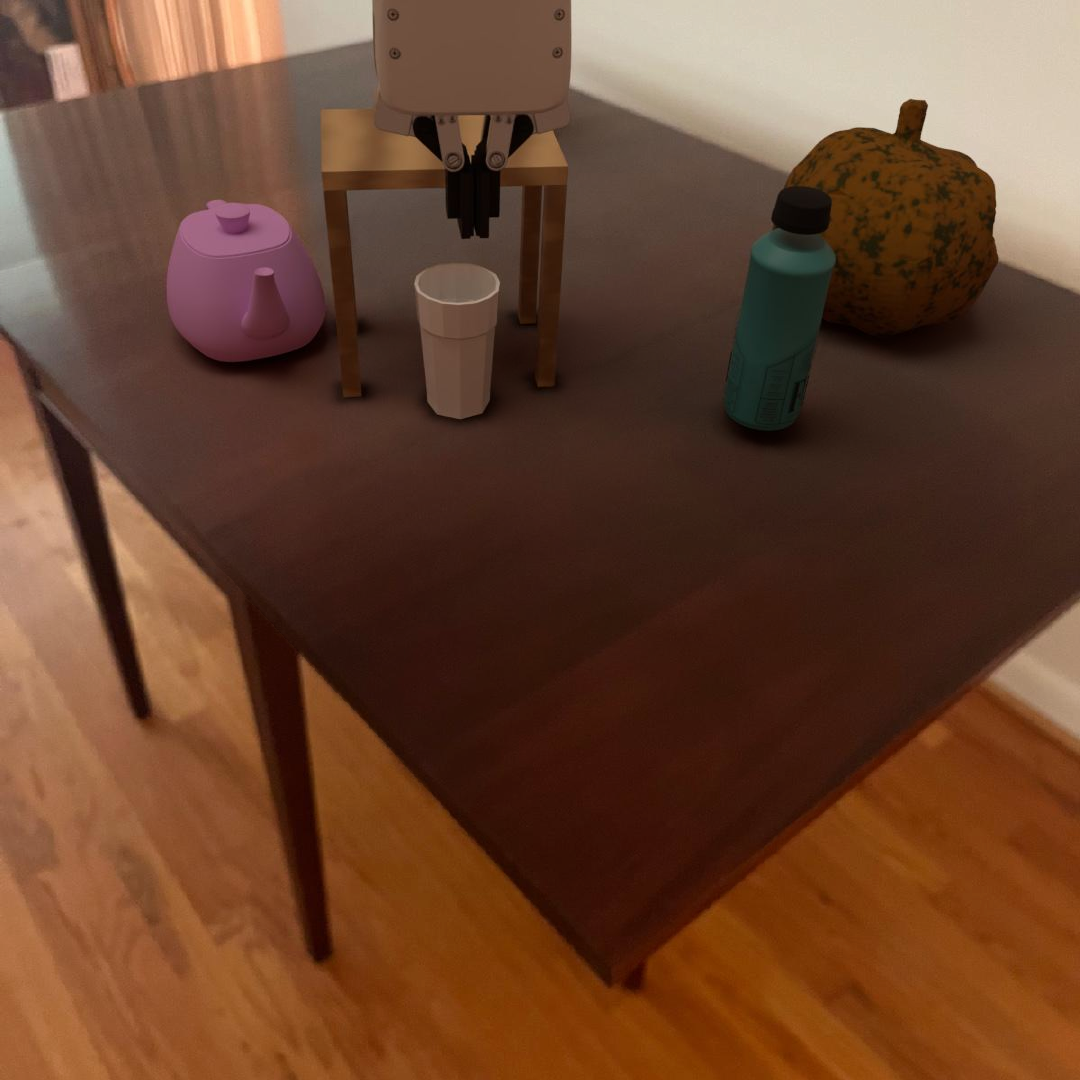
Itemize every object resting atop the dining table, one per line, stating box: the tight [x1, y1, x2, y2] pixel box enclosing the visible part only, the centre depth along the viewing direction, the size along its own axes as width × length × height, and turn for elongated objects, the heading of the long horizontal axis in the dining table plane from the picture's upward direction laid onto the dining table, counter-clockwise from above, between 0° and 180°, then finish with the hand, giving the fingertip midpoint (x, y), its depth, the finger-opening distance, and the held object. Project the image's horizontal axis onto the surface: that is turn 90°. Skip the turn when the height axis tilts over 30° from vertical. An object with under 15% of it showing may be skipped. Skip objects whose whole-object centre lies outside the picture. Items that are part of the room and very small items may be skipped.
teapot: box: [166, 199, 326, 363], centre depth 90 cm, size 20×13×12 cm, turn 27°
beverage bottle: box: [722, 186, 836, 432], centre depth 81 cm, size 6×7×20 cm
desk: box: [320, 108, 569, 398], centre depth 87 cm, size 18×12×20 cm, turn 99°
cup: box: [413, 262, 501, 420], centre depth 85 cm, size 7×7×11 cm
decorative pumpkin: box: [771, 98, 999, 339], centre depth 97 cm, size 20×21×20 cm
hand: (472, 227), depth 61 cm, fingers closed
